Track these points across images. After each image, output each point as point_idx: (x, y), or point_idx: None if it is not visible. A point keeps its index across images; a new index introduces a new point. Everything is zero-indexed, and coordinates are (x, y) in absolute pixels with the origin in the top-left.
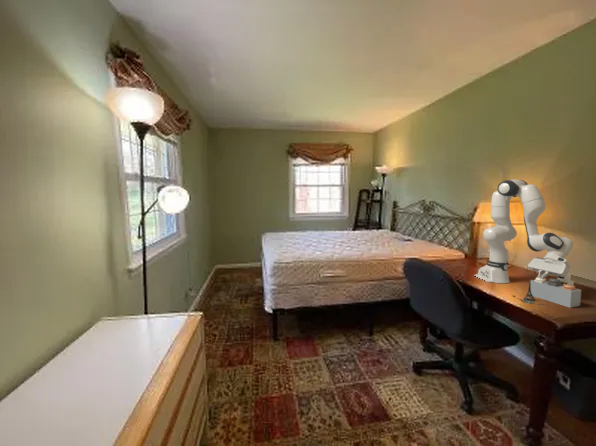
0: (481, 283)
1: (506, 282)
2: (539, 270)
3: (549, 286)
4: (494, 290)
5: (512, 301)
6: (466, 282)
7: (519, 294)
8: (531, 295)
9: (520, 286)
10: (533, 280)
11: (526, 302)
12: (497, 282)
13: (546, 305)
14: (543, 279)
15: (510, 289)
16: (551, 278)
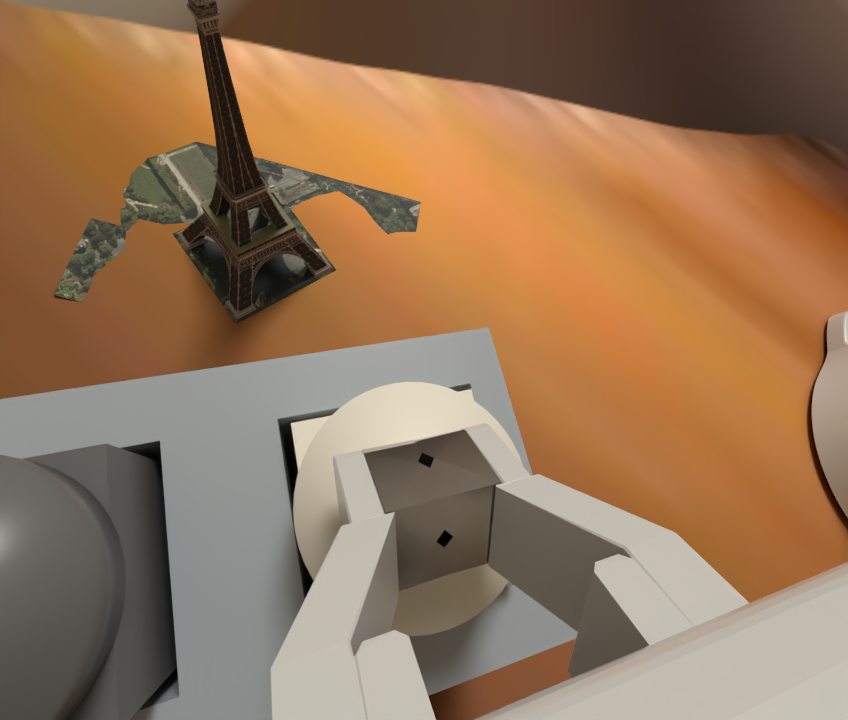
0: (776, 233)
1: (836, 479)
2: (699, 578)
3: (29, 399)
4: (579, 181)
5: (259, 78)
6: (783, 143)
7: (446, 307)
8: (231, 230)
9: (734, 569)
10: (491, 405)
11: (191, 161)
12: (820, 382)
13: (26, 280)
14: (303, 476)
15: (613, 352)
16: (81, 655)
